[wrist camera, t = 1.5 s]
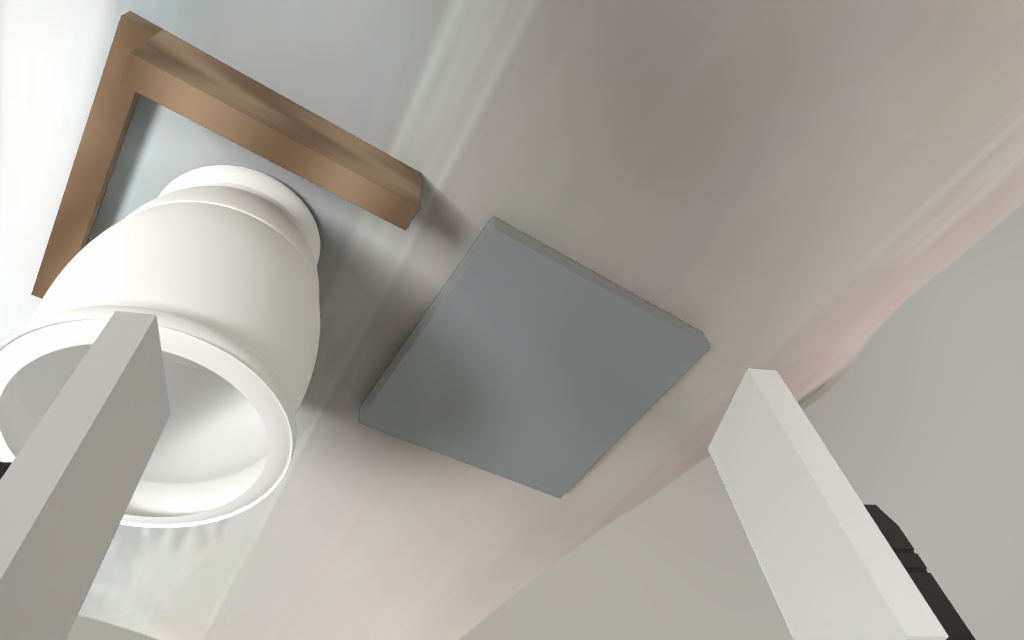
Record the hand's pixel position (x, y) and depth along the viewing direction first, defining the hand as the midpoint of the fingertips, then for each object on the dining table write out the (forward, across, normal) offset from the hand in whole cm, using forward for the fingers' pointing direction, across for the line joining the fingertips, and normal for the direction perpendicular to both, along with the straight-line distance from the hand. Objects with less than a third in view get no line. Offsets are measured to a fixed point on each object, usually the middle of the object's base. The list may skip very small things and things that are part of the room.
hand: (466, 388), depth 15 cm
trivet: (+21, +7, -16) cm, 28 cm away
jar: (+22, -10, -9) cm, 25 cm away
